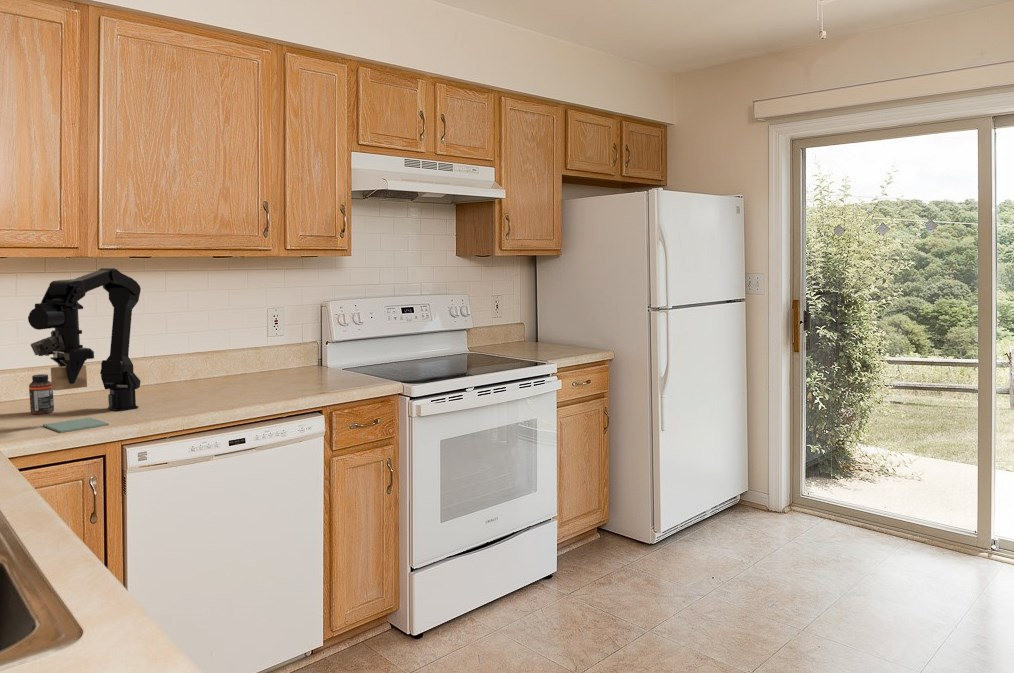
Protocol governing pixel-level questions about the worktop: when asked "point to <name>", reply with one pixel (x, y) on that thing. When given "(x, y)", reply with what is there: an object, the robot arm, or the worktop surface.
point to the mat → (75, 424)
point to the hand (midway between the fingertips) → (69, 383)
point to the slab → (61, 378)
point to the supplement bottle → (41, 395)
